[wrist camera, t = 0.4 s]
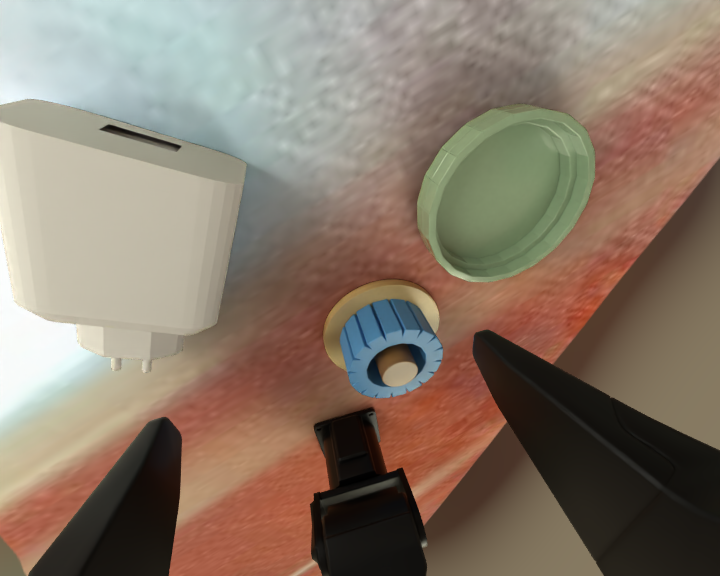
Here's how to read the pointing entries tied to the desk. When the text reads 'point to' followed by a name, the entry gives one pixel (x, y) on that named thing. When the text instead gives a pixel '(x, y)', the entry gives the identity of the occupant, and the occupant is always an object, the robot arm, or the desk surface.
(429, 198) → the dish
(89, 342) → the charger
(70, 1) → the desk surface
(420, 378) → the blue gear
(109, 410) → the desk surface
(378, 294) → the tape holder
